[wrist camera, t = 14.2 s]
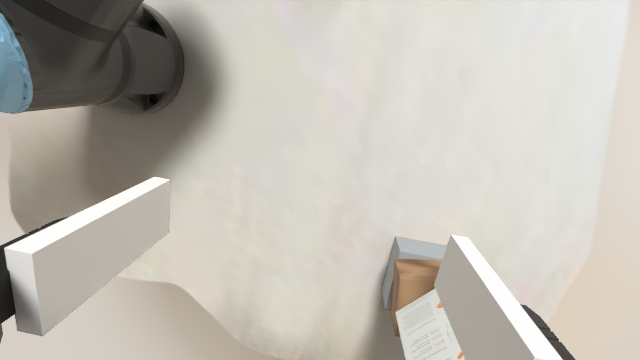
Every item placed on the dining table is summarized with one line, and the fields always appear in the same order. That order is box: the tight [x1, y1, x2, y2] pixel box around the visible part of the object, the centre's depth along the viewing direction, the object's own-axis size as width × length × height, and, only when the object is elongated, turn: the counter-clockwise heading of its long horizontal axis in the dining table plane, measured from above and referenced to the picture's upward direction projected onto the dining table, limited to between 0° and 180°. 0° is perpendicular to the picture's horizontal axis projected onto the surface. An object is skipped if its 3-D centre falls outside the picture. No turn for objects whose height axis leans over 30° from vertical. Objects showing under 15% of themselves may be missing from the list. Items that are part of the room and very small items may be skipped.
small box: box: [395, 289, 465, 360], centre depth 35 cm, size 8×6×13 cm
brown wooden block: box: [391, 259, 442, 336], centre depth 43 cm, size 9×9×5 cm
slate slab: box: [382, 236, 447, 310], centre depth 48 cm, size 10×10×5 cm
